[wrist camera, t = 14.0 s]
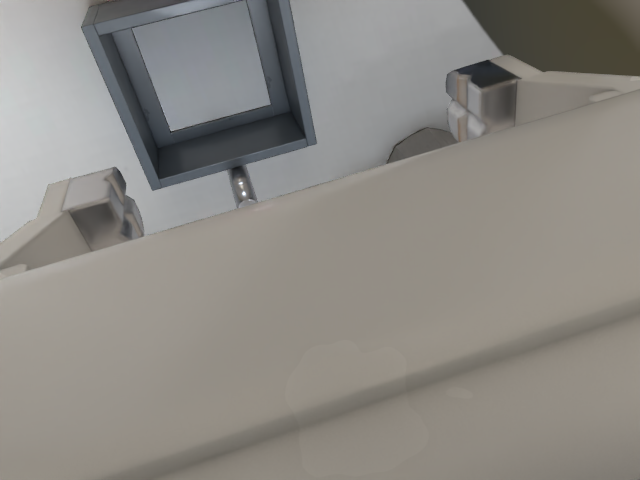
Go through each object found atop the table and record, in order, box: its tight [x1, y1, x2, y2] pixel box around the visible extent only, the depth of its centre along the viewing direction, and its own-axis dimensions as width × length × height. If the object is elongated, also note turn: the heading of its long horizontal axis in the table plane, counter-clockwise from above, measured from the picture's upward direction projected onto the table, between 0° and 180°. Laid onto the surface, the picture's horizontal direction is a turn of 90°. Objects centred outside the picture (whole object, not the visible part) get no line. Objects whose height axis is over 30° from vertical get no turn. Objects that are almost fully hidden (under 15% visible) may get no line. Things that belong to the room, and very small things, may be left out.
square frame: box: [81, 0, 317, 209], centre depth 39 cm, size 14×14×11 cm
